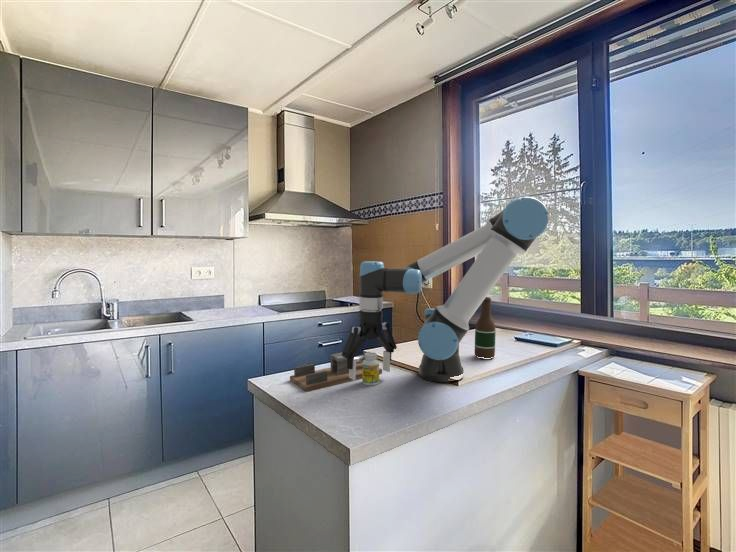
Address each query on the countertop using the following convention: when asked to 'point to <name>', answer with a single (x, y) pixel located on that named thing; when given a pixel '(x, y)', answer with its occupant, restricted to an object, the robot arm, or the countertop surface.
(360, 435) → the countertop surface
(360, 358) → the shaft
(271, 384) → the countertop surface
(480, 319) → the beer bottle
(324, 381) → the base
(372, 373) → the supplement bottle
